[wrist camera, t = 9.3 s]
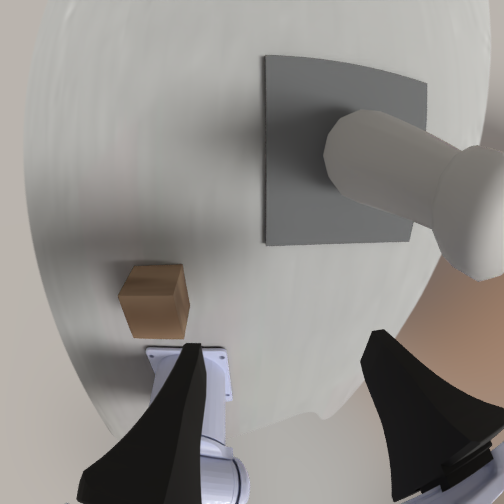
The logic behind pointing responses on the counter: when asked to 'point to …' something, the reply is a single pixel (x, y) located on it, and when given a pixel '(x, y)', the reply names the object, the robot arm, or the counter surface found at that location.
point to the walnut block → (156, 302)
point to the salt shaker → (424, 185)
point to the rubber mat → (313, 144)
